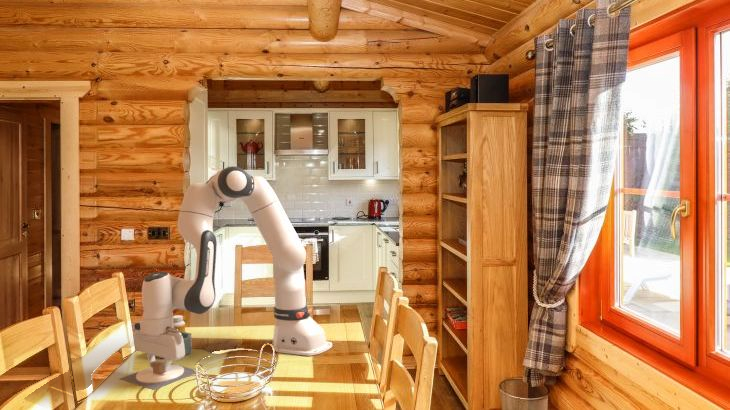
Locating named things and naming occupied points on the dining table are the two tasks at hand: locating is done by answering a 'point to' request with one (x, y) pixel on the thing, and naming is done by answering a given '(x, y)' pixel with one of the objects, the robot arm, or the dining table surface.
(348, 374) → the dining table surface
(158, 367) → the lid
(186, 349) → the grey octagonal ring
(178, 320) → the supplement bottle
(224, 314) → the dining table surface
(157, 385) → the mat
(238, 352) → the dining table surface
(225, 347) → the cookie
